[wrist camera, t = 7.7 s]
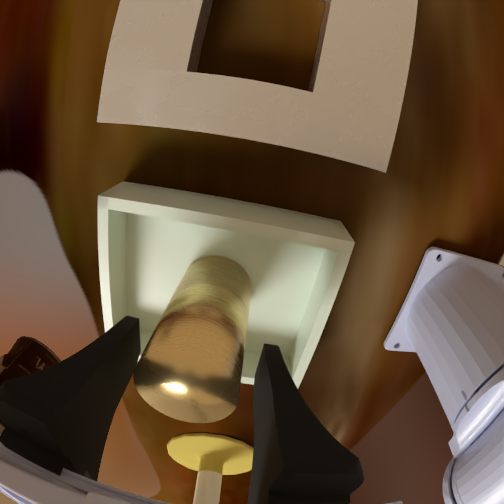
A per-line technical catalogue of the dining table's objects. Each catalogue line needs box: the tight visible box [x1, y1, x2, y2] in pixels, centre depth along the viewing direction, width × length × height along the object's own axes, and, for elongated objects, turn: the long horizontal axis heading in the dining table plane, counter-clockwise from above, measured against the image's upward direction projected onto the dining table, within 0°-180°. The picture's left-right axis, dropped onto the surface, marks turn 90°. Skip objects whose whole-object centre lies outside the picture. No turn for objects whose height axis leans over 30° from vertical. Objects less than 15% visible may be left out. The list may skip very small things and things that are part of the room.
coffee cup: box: [0, 336, 61, 434], centre depth 17 cm, size 9×8×13 cm
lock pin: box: [134, 255, 252, 423], centre depth 14 cm, size 4×4×8 cm
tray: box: [98, 181, 355, 389], centre depth 17 cm, size 12×10×3 cm
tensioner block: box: [97, 0, 418, 173], centre depth 12 cm, size 14×11×2 cm
